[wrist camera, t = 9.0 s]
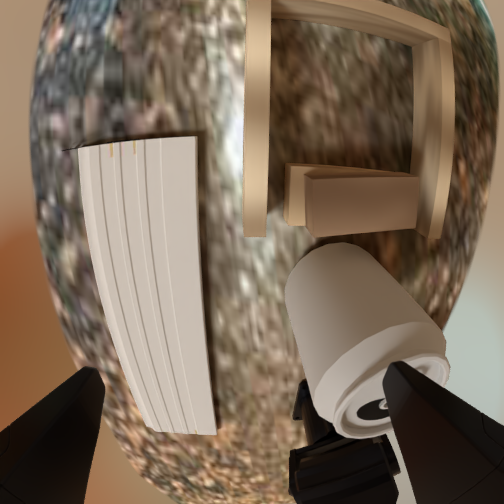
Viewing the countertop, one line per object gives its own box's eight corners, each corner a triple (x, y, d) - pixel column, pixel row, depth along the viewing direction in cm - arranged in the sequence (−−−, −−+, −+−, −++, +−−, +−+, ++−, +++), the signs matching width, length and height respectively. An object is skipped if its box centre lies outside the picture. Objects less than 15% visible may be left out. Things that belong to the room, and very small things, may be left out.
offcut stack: (387, 219, 20) (415, 238, 16) (282, 217, 19) (294, 237, 16) (393, 168, 18) (425, 178, 15) (285, 159, 18) (298, 165, 14)
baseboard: (136, 419, 28) (217, 425, 29) (132, 437, 26) (217, 444, 27) (68, 148, 17) (199, 134, 17) (47, 152, 14) (193, 134, 15)
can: (266, 309, 22) (290, 447, 11) (309, 222, 20) (391, 331, 8) (345, 331, 24) (398, 444, 12) (389, 257, 21) (484, 353, 10)
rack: (414, 223, 20) (440, 239, 17) (242, 219, 19) (243, 236, 16) (422, 38, 14) (449, 29, 11) (246, 3, 13) (249, -21, 10)
